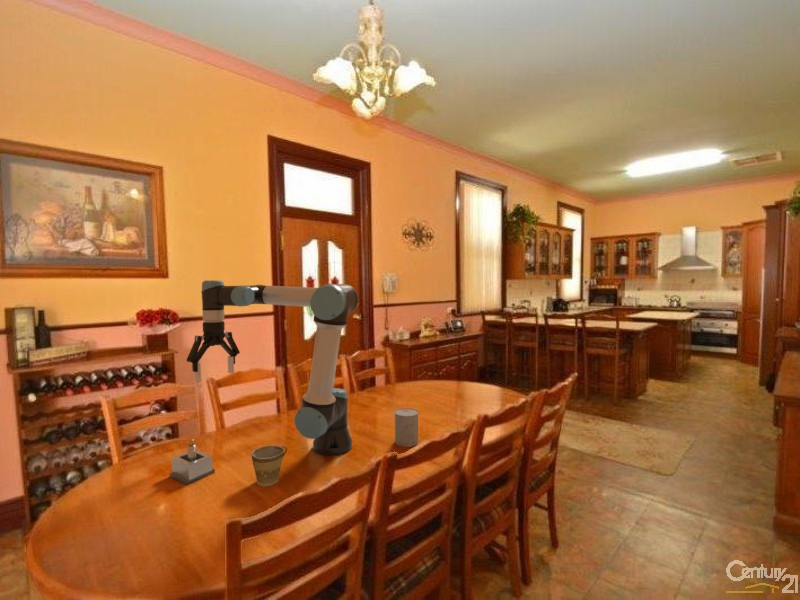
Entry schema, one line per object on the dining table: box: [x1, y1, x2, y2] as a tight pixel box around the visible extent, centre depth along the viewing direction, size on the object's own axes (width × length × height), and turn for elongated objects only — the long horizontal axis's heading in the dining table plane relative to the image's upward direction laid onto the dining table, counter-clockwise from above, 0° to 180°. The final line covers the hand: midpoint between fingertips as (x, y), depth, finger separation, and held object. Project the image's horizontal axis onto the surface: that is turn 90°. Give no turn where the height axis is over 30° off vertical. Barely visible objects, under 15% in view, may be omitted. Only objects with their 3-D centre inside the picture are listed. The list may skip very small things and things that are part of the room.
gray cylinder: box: [394, 407, 419, 448], centre depth 162 cm, size 10×10×12 cm
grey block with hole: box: [171, 449, 213, 480], centre depth 135 cm, size 10×8×5 cm
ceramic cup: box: [250, 444, 288, 487], centre depth 132 cm, size 13×10×10 cm
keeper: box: [168, 438, 216, 486], centre depth 135 cm, size 10×10×12 cm
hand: (215, 376), depth 153 cm, fingers open, 13 cm apart
